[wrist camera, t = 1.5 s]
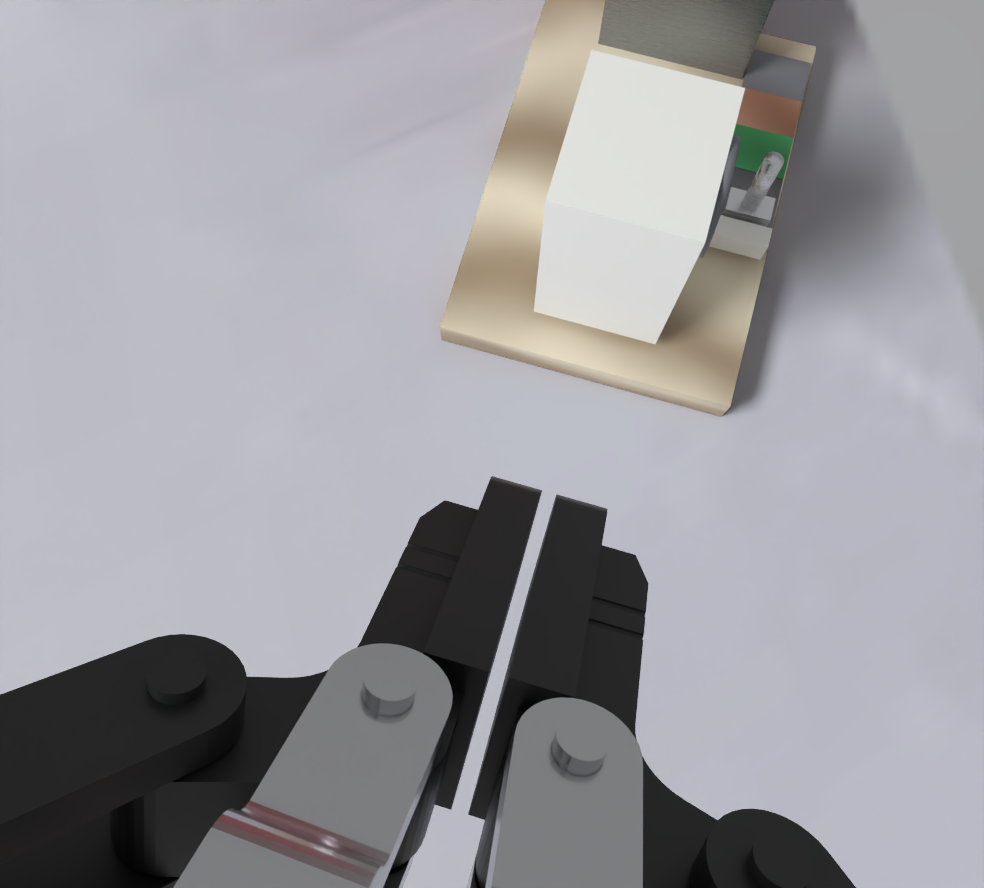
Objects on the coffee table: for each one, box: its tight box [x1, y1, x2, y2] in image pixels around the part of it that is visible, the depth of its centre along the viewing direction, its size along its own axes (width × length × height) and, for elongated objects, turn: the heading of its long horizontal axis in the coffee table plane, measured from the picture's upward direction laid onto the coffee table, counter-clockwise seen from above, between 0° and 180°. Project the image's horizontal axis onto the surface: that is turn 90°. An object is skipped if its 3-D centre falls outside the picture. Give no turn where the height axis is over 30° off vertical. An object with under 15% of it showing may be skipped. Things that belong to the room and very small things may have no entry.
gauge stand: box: [440, 0, 816, 416], centre depth 39 cm, size 17×12×2 cm
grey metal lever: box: [721, 152, 784, 227], centre depth 36 cm, size 1×2×5 cm, turn 74°
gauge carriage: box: [534, 50, 773, 344], centre depth 33 cm, size 8×8×9 cm
